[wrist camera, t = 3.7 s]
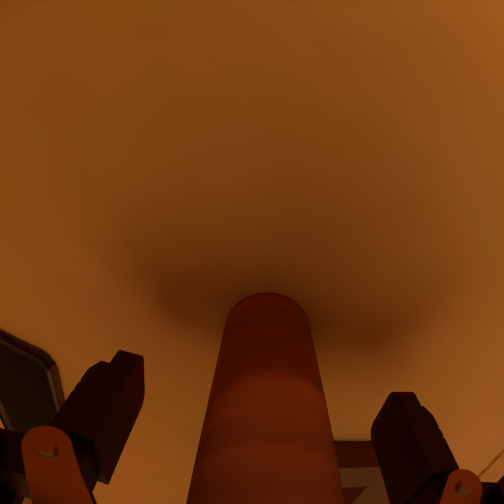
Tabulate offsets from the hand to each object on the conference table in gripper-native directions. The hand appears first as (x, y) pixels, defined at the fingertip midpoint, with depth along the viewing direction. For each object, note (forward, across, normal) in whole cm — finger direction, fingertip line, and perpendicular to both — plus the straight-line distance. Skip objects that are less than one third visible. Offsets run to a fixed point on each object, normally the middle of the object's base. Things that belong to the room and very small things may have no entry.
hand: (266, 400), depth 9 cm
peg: (+4, 0, 0) cm, 4 cm away
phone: (+5, +15, +12) cm, 20 cm away
